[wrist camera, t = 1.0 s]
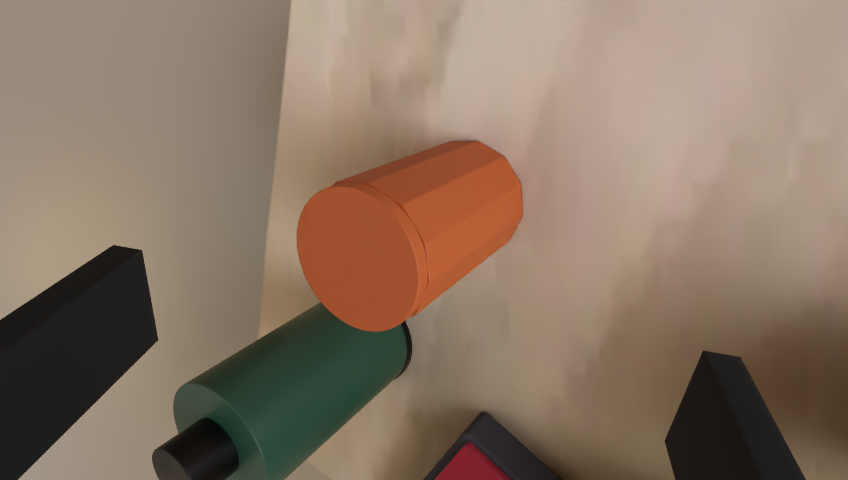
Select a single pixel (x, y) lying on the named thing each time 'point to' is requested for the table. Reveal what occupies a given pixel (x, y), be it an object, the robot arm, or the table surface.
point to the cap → (406, 231)
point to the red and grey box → (489, 456)
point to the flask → (279, 399)
